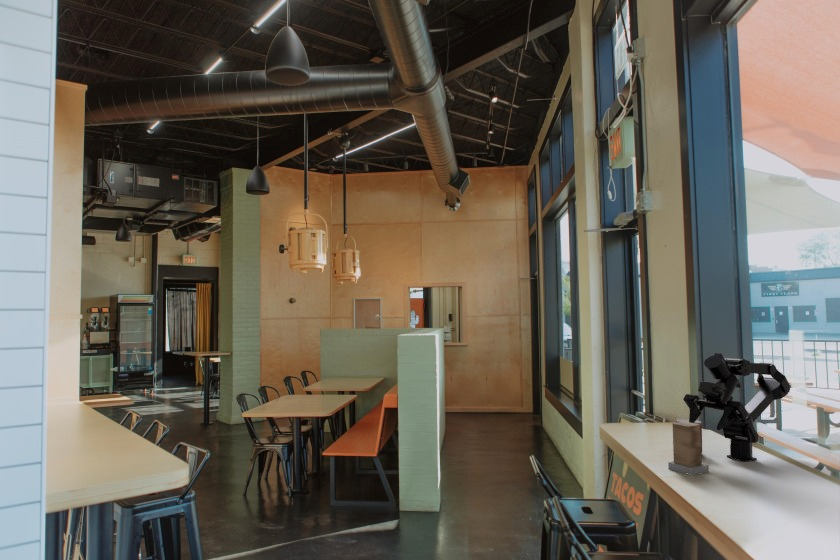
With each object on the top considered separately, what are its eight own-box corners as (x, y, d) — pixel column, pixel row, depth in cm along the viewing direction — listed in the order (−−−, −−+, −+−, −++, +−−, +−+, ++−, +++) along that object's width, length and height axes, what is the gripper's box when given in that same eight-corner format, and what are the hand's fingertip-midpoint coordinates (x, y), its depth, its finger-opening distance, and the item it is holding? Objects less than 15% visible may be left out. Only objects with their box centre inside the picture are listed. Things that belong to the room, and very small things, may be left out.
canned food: (705, 456, 183) (704, 423, 184) (679, 455, 185) (679, 422, 185) (698, 450, 191) (697, 419, 191) (674, 449, 192) (673, 418, 193)
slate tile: (684, 467, 172) (684, 459, 172) (708, 473, 165) (708, 465, 166) (668, 470, 168) (668, 462, 169) (692, 477, 161) (692, 468, 162)
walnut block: (685, 459, 171) (683, 421, 172) (701, 464, 166) (700, 424, 167) (673, 462, 168) (672, 423, 169) (690, 466, 164) (688, 426, 164)
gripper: (685, 369, 183) (665, 405, 177) (741, 375, 167) (720, 415, 161) (700, 391, 187) (681, 427, 181) (756, 399, 170) (737, 439, 164)
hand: (703, 426), depth 172 cm, fingers open, 9 cm apart
